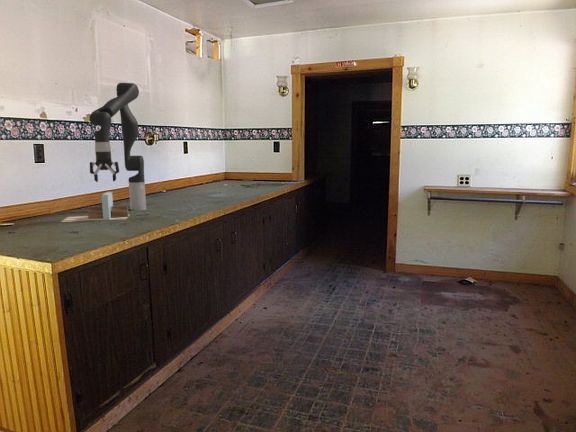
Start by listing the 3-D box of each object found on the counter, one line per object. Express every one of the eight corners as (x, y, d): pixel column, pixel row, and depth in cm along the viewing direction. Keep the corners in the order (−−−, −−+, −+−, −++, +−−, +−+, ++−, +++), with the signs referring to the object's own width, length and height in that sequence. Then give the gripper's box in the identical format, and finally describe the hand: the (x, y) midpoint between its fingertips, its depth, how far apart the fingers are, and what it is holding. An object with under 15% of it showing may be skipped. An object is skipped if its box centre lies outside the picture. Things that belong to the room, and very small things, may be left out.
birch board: (68, 218, 236) (68, 216, 236) (130, 215, 243) (130, 214, 243) (60, 223, 221) (60, 221, 220) (126, 220, 228) (126, 219, 227)
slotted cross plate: (108, 215, 239) (106, 192, 237) (113, 215, 240) (112, 192, 238) (103, 219, 226) (101, 195, 224) (109, 219, 226) (107, 195, 224)
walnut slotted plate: (89, 217, 232) (88, 206, 231) (128, 216, 236) (127, 205, 235) (88, 218, 230) (87, 207, 229) (127, 216, 234) (127, 206, 233)
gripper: (118, 150, 232) (120, 180, 235) (90, 150, 229) (92, 181, 232) (116, 150, 224) (118, 181, 227) (86, 151, 221) (89, 182, 224)
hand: (105, 181), depth 230 cm, fingers open, 8 cm apart
